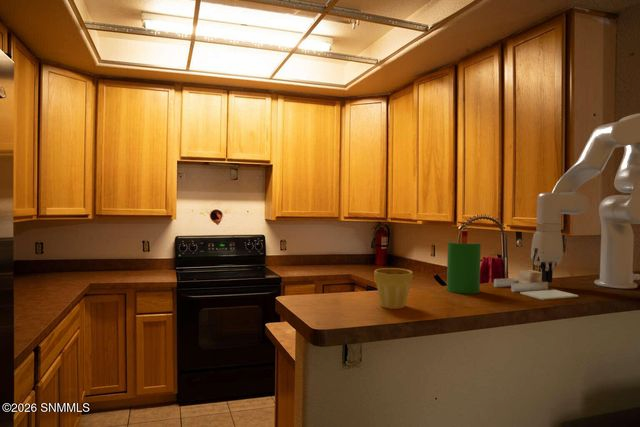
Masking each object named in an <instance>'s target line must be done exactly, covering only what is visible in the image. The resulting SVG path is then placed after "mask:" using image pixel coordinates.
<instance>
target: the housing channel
mask: <svg viewBox="0 0 640 427" xmlns="http://www.w3.org/2000/svg"><path fill="white" fill-rule="evenodd" d="M493 287H494V288H504V287H506V288H507V287H511V288H510V291H511V292H512V293H520V292H529V291H543V290H549V289H548V288H549V283H548V282H545V281H544V282H543V281H542V282H528V283H519V277H509V278H494V279H493Z"/></svg>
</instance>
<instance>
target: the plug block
mask: <svg viewBox="0 0 640 427" xmlns="http://www.w3.org/2000/svg"><path fill="white" fill-rule="evenodd" d="M518 278H519V283H528V282H543V281H542V271H536V270H532V269H527V270H525V269H524V270H518Z"/></svg>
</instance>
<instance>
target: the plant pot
mask: <svg viewBox="0 0 640 427" xmlns="http://www.w3.org/2000/svg"><path fill="white" fill-rule="evenodd" d="M373 275H374V279H373V280H374V284H375V285H376V287H377V288H376V289H377V292H378V297H379V303H380V307H383V308H385V309H390V310H391V309H392V310H397V309H403V308H405V307H406V302H407V299H408V295H409V291H410V286H411V285H412V284H413V281H414V280H413V277H414V276H413V275H414V273H413V271H412V270H410V269H405V268H399V267H398V268H397V267H396V268H395V267H390V268H389V267H386V268H385V267H383V268H377V269H375V270H374V273H373Z"/></svg>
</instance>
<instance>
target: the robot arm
mask: <svg viewBox="0 0 640 427" xmlns="http://www.w3.org/2000/svg"><path fill="white" fill-rule="evenodd" d="M621 147H622V148H624V152H623V157H622V159H621V161H620V164H619V166H618V169H617V172H616V174H615V177H614V180H613V181H614V182H613V186H614V188H615V190H617V191H618V192H620V193H623V194H616V195H614V194H613V195H610V196H609V195H608V196H607V197H605V198H603V200H602V201H601V202H600V204H599V207H598V214H599V219H600V227H601V230H600V231H601V232H600V235H601V237H600V266H599V278H598V279H597V278H596V279H595V280H594V284H595V285H596V286H600V287H606V288H613V289H624V290H625V289H627V290H628V289H629V290H630V289H637V288H638V283H636V282H634V281H635V280H636V281H637V280H638V281H639V280H640V274H639V273H634V272H633V266H634V265H633V262H634V240H635V238H634V236H635V235H634V230H633V228H632V225H631V224H635V225H639V224H640V113H634V114H630V115H627V116H625V117H622V118H621V119H619V120H618V121H615V122H610V123H606V124H602V125H599V126H597V127H596V128H594V130H593V131H592V133H591V134H590V136H589V138H588V139H587V142H586V144H585V146H584V147H583V149H582V151H581V153H580V155H579V157H578V159H577V160H576V162H575V163H574V164H573V165H572V166H571V167H569V169H567V170H566V172H565V173H564V174H563V175H562V176H561V177H560V179H559V180H558V181H557V182H556V185H554V188H553V190H552V191H551V192H540V193H539V194H538V195H537V197H536V198H537V200H536V202H537V203H536V227H535V228H536V230H535V232H534V233H533V236H532V240H531V241H532V242H531V248H530V250H531V251H530V259H531V261H533V265H535V266H538V267H539V269H540V270H541V272H542V282H544V281H545V282H548V284H549V283H553V275H554V274H553V273H554V271H555V268H556V266H560V264H562V260H563V256H564V243H563V236H562V231H561V230H562V227H563V226H562V215H563V214H564V215H579V214H583V213H584V212H586V211H587V209H588V208H589V205H590V202H589V199H588V197H587V196H586V195H585V194H582V193H581V192H576V191H577V190H578V189H579V188H580V187H581V186H582V185H583V184H585V183H586V182H588V181H590V180H591V179H594V178H595V177H597V176H598V175H600V174H602V172H603V171H604V169H605V167H606V166H607V164H608V161H609V160H610V157H611V156H612V154H613V152H614V150H615V149H616V148H621ZM628 194H629V195H628Z"/></svg>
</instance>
